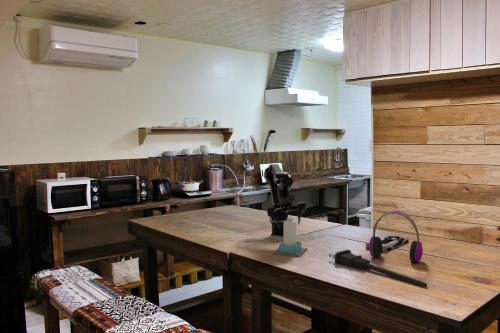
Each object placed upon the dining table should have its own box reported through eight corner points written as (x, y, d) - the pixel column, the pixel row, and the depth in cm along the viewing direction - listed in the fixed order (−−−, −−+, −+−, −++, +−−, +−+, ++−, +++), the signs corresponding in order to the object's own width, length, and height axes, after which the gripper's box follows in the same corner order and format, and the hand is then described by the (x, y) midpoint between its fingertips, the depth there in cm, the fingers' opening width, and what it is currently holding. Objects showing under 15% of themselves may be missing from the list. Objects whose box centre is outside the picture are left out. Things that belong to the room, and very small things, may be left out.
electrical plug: (340, 257, 178) (340, 246, 178) (432, 289, 145) (433, 275, 145) (325, 261, 173) (326, 249, 173) (417, 295, 140) (418, 281, 139)
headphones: (423, 260, 173) (424, 211, 171) (420, 266, 165) (421, 215, 164) (372, 253, 183) (372, 208, 182) (367, 258, 176) (367, 211, 174)
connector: (283, 249, 189) (283, 217, 187) (290, 248, 191) (290, 216, 190) (289, 251, 185) (289, 219, 184) (296, 250, 188) (296, 217, 187)
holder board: (273, 254, 185) (272, 245, 185) (282, 247, 196) (281, 239, 196) (299, 256, 180) (299, 247, 180) (307, 249, 191) (307, 241, 191)
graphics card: (365, 243, 190) (391, 233, 208) (365, 250, 191) (391, 239, 208) (386, 246, 183) (411, 236, 201) (386, 254, 184) (411, 243, 201)
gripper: (264, 192, 199) (268, 223, 191) (303, 186, 198) (309, 217, 191) (265, 201, 209) (270, 231, 201) (303, 195, 208) (309, 225, 201)
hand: (289, 226), depth 198 cm, fingers open, 9 cm apart
